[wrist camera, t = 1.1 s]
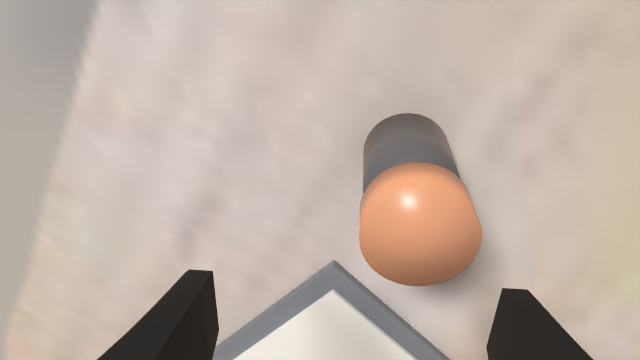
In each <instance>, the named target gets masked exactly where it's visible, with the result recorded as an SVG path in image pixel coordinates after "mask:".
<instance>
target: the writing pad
mask: <svg viewBox="0 0 640 360" xmlns="http://www.w3.org/2000/svg"><path fill="white" fill-rule="evenodd" d="M212 360H449V359H448V358H447V357H446V356H445V355H444V354H442V353H441V352H440V351H439V350H438V349H437V348H436V347H434V346H433V345H432V344H431V343H430V342H429V341H427V340H426V339H425V338H424V337H423V336H422V335H420V334H419V333H418V332H417V331H416V330H415V329H413V328H412V327H411V326H410V325H409V324H408V323H406V322H405V321H404V320H403V319H402V318H401V317H399V316H398V315H397V314H396V313H395V312H394V311H393V310H391V309H390V308H389V307H388V306H387V305H386V304H384V303H383V302H382V301H381V300H380V299H379V298H377V297H376V296H375V295H374V294H373V293H372V292H370V291H369V290H368V289H367V288H366V287H365V286H363V285H362V284H361V283H360V282H359V281H358V280H356V279H355V278H354V277H353V276H352V275H351V274H349V273H348V272H347V271H346V270H345V269H344V268H343V267H341V266H340V265H339V264H338V263H337V262H336V261H332V262H331V263H330V264H328V265H327V266H326V267H324V268H323V269H322V270H320V271H319V272H317V273H316V274H315V275H313V276H312V277H311V278H309V279H308V280H307V281H305V282H304V283H302V284H301V285H300V286H298V287H297V288H296V289H294V290H293V291H292V292H290V293H289V294H287V295H286V296H285V297H283V298H282V299H281V300H279V301H278V302H277V303H275V304H274V305H272V306H271V307H270V308H268V309H267V310H266V311H264V312H263V313H262V314H260V315H259V316H257V317H256V318H255V319H253V320H252V321H251V322H249V323H248V324H247V325H245V326H244V327H243V328H241V329H240V330H238V331H237V332H236V333H234V334H233V335H232V336H230V337H229V338H228V339H226V340H225V341H223V342H222V343H221V344H219V345H218V346H217V347H215V350H214V354H213V358H212Z"/></svg>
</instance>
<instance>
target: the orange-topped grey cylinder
mask: <svg viewBox="0 0 640 360" xmlns="http://www.w3.org/2000/svg"><path fill="white" fill-rule="evenodd" d="M359 240H360V248H361V251H362V254H363V256H364V258H365V260H366V261H367V263H368V264H369V265H370V267H371V268H372V269H373V270H374V271H376V272H377V273H378V274H379V275H381V276H383V277H384V278H386V279H388V280H391V281H393V282H396V283H399V284H404V285H410V286H426V285H432V284H437V283H440V282H444V281H446V280H448V279H451V278H452V277H454V276H456V275H458V274H459V273H460V272H462V271H463V270H464V269H465V268H466V267H467V266H468V265H469V264H470V263H471V262H472V261H473V259H474V257H475V256H476V254H477V252H478V250H479V246H480V243H481V228H480V223H479V221H478V218H477V215H476V212H475V209H474V206H473V204H472V201H471V198H470V195H469V193H468V190H467V188H466V187H465V185H464V183H463V182H462V181H461V179H460V176H459V173H458V170H457V167H456V165H455V162H454V159H453V156H452V153H451V150H450V147H449V144H448V141H447V139H446V136H445V134H444V132H443V131H442V129H441V128H440V127H439V126H438V125H437V124H436V123H435V122H434V121H432V120H431V119H429V118H427V117H424V116H422V115H418V114H410V113H406V114H398V115H394V116H391V117H389V118H386V119H385V120H383V121H381V122H380V123H379V124H377V125H376V126H375V127H374V128H373V129H372V131H371V132H370V134H369V135H368V137H367V139H366V142H365V145H364V166H363V197H362V200H361V205H360V232H359Z"/></svg>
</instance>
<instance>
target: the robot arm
mask: <svg viewBox="0 0 640 360" xmlns="http://www.w3.org/2000/svg"><path fill="white" fill-rule="evenodd" d="M218 332H219V326H218V316H217V307H216V298H215V289H214V279H213V271H203V270H188V271H187V272H185V273H184V274H183V276H182V277H181V278H180V279H179V280H178V281H177V282H176V283H175V284H174V285H173V286H172V287H171V288H170V290H169V291H168V292H167V293H166V294H165V295H164V296H163V297H162V298H161V299H160V300H159V301H158V302H157V303H156V304H155V305H154V306H153V307H152V308H151V309H150V310H149V311H148V312H147V313H146V314H145V315H144V316H143V317H142V318H141V319H140V320H139V321H138V322H137V323H136V324H135V325H134V326H133V327H132V328H131V329H130V330H129V331H128V332H127V333H126V334H125V335H124V336H123V337H122V338H121V339H119V340H118V341H117V342H116V343H115V344H114V345H113V346H112V347H111V348H109V349H108V350H107V351H106V352H105V353H104V354H103V355H102V356H101V357H99V358H98V359H97V360H212V358H213V354H214V350H215V346H216V341H217V337H218ZM487 353H488V359H489V360H593V359H592V358H591V357H590V356H589V355H588V354H587V353H586V352H585V351H584V350H583V349H582V348H581V347H580V346H579V345H578V344H577V343H576V342H575V341H574V339H573V338H572V337H571V336H570V335H569V334H568V333H567V332H566V331H565V330H564V329H563V328H562V327H561V326H560V324H559V323H558V322H557V321H556V320H555V319H554V318H553V317H552V316H551V315H550V314H549V312H548V311H547V310H546V309H545V308H544V307H543V306H542V305H541V304H540V302H539V301H538V300H537V299H536V298H535V297H534V296H533V295H532V294H531V293H530V292H529V291H528V290H524V289H507V288H502V291H501V295H500V299H499V303H498V306H497V310H496V314H495V317H494V321H493V325H492V329H491V332H490V336H489V340H488V343H487Z"/></svg>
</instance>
